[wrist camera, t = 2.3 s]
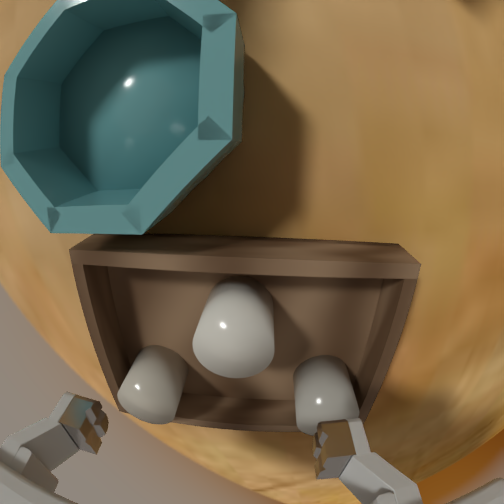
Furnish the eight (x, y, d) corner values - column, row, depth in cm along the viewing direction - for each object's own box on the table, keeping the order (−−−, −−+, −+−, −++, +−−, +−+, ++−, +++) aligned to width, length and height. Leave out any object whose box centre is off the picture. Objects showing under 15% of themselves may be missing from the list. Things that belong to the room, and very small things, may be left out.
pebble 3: (352, 354, 18) (366, 397, 14) (340, 391, 19) (350, 433, 15) (296, 355, 18) (301, 401, 14) (290, 393, 19) (292, 436, 15)
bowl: (247, -2, 11) (240, -49, 6) (242, 209, 15) (231, 237, 11) (62, 35, 11) (15, 19, 7) (58, 210, 16) (8, 232, 11)
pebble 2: (275, 277, 16) (277, 318, 12) (271, 333, 17) (271, 379, 13) (206, 274, 16) (189, 313, 12) (209, 330, 17) (196, 374, 14)
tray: (398, 243, 15) (421, 264, 13) (354, 398, 20) (361, 427, 17) (96, 232, 16) (68, 249, 13) (132, 385, 21) (119, 411, 18)
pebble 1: (185, 348, 18) (169, 391, 14) (191, 386, 19) (179, 428, 16) (133, 341, 18) (110, 380, 14) (143, 379, 20) (126, 417, 16)
